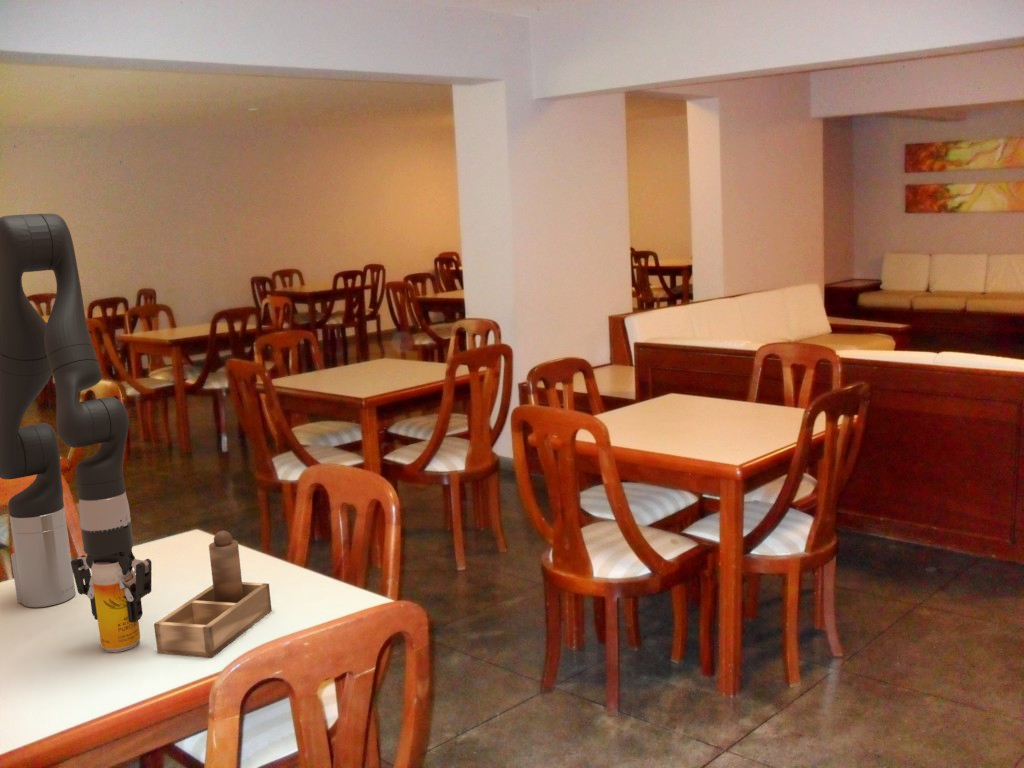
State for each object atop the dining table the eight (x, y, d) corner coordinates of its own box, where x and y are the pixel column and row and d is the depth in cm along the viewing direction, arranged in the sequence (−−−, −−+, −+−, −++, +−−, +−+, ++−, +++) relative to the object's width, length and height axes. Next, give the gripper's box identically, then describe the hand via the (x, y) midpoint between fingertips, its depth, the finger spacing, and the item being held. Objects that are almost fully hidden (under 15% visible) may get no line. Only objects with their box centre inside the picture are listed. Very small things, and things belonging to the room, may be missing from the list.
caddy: (157, 653, 161) (146, 558, 158) (221, 607, 179) (212, 521, 176) (211, 657, 158) (201, 561, 155) (271, 610, 176) (263, 523, 173)
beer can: (127, 654, 161) (116, 566, 158) (93, 652, 162) (82, 565, 159) (148, 638, 167) (137, 552, 164) (115, 637, 168) (104, 552, 165)
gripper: (52, 527, 159) (65, 626, 162) (128, 530, 155) (141, 631, 158) (84, 513, 166) (96, 607, 169) (158, 515, 162) (169, 613, 165)
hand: (118, 619), depth 163 cm, fingers closed on beer can, 6 cm apart
